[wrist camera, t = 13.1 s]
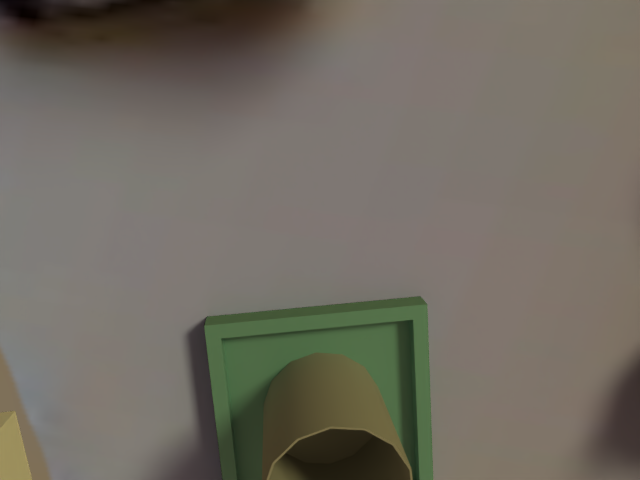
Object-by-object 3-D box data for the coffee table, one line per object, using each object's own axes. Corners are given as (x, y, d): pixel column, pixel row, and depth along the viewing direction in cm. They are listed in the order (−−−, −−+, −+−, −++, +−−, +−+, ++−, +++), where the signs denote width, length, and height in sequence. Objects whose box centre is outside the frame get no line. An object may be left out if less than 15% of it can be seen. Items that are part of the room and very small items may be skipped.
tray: (207, 316, 40) (204, 325, 38) (420, 296, 41) (427, 304, 39) (229, 507, 43) (227, 524, 41) (427, 484, 44) (433, 499, 42)
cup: (242, 427, 41) (233, 522, 31) (302, 332, 40) (313, 400, 30) (341, 478, 42) (363, 584, 33) (402, 387, 41) (443, 470, 32)
